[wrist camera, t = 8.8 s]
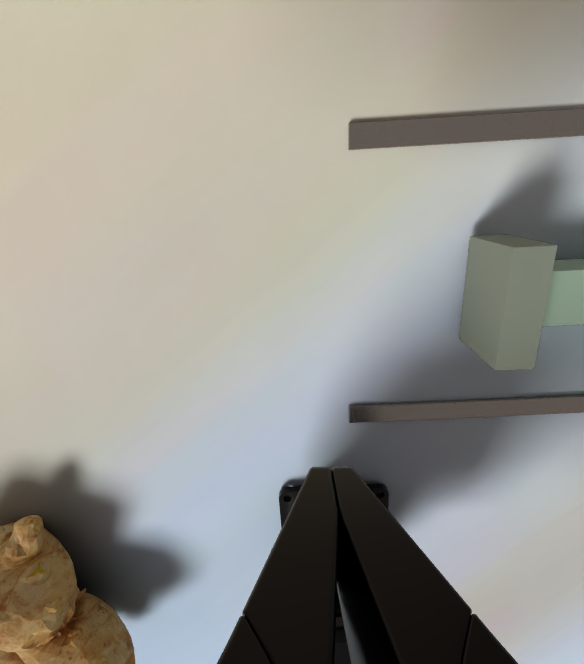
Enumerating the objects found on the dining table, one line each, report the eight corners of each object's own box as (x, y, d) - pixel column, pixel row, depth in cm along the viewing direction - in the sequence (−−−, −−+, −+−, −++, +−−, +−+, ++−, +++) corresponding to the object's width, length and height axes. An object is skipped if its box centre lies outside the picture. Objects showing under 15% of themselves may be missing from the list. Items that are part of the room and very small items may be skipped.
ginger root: (128, 493, 21) (49, 680, 15) (181, 607, 30) (147, 755, 24) (-133, 489, 22) (-320, 666, 16) (-5, 601, 31) (-89, 744, 25)
